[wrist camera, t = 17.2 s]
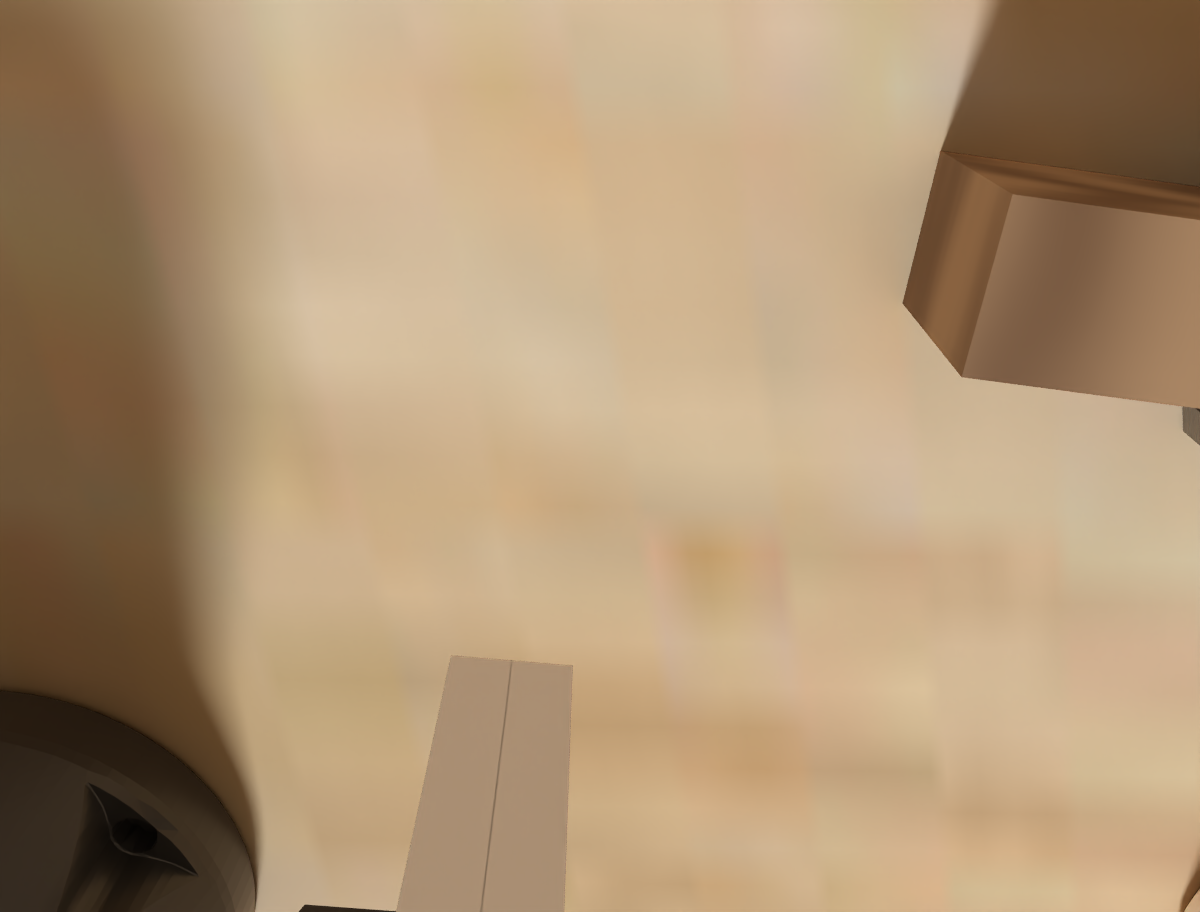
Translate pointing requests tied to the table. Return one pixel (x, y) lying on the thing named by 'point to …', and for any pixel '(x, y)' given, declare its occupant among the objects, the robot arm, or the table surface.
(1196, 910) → the cup
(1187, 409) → the endcap
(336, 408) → the table surface
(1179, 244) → the slat
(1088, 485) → the table surface
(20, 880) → the robot arm
